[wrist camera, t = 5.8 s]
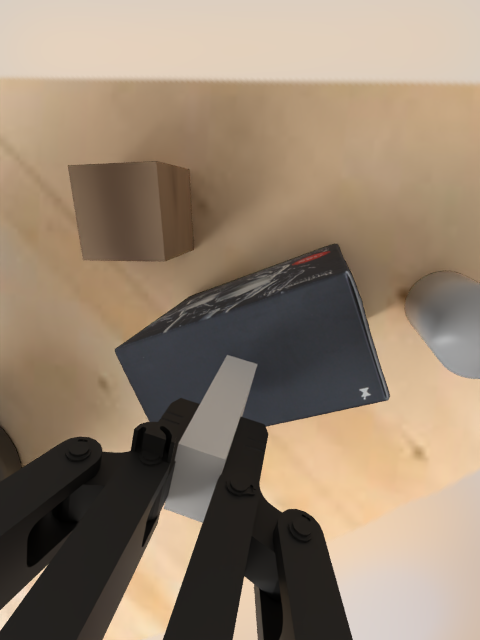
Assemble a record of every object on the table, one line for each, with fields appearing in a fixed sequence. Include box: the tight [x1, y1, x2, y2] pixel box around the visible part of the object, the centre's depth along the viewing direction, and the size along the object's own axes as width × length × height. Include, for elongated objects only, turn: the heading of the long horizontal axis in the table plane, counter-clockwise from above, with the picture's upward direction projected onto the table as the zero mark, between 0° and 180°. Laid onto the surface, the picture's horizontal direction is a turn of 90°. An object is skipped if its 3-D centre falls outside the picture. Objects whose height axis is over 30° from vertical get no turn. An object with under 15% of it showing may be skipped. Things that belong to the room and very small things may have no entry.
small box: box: [115, 244, 390, 427], centre depth 23 cm, size 13×7×12 cm, turn 112°
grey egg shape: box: [405, 271, 480, 379], centre depth 23 cm, size 5×5×7 cm
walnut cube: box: [68, 161, 194, 261], centre depth 25 cm, size 6×6×6 cm
